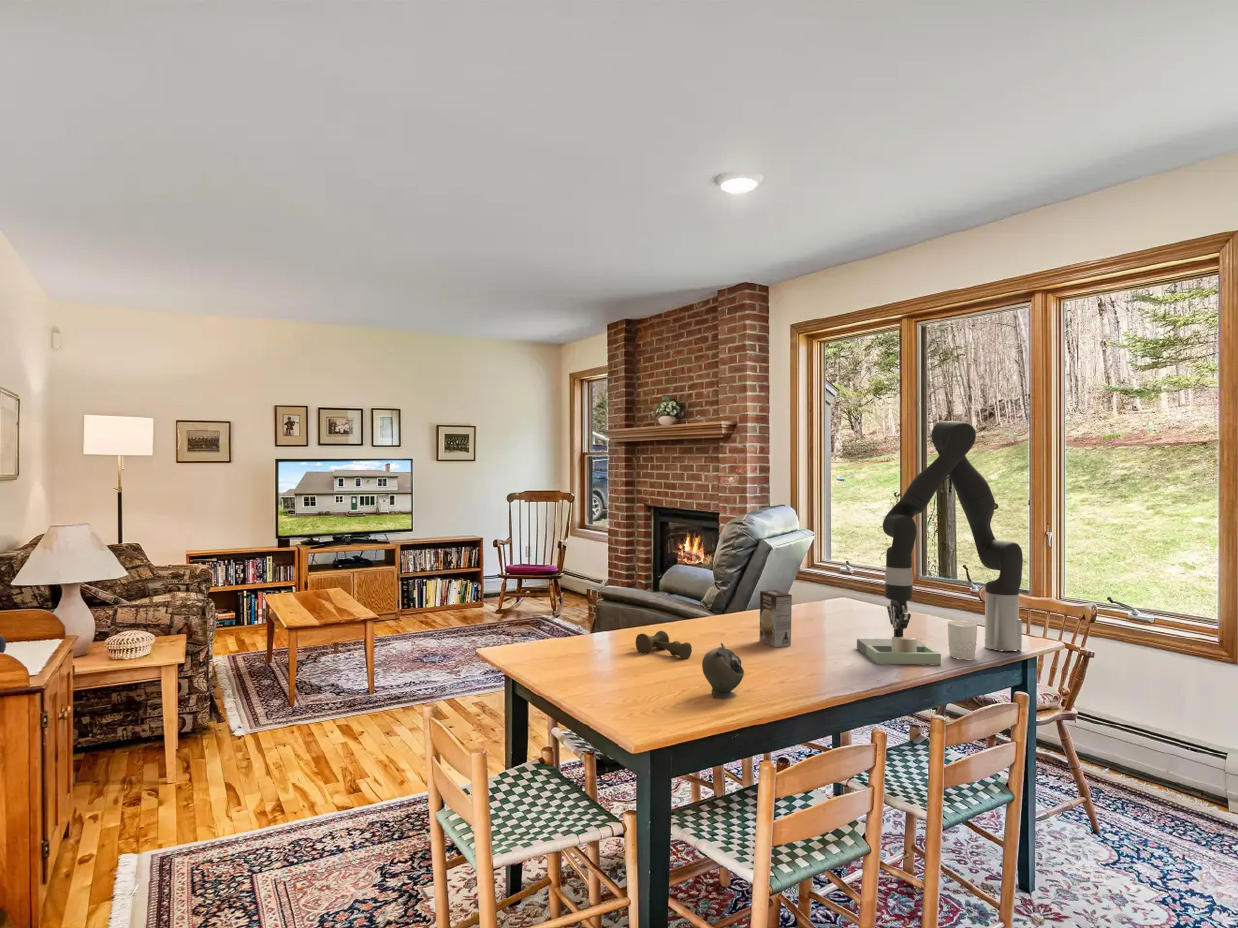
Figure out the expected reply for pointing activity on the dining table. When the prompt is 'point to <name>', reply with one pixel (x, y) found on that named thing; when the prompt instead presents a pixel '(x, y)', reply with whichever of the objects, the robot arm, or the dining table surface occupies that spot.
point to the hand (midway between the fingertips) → (898, 641)
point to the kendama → (663, 644)
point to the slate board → (882, 645)
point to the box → (904, 656)
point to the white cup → (962, 639)
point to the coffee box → (775, 618)
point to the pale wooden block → (904, 644)
